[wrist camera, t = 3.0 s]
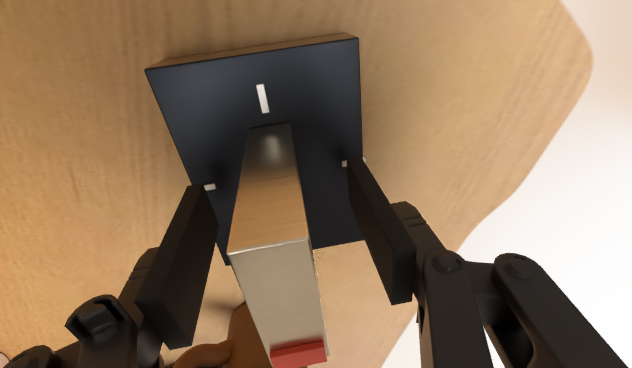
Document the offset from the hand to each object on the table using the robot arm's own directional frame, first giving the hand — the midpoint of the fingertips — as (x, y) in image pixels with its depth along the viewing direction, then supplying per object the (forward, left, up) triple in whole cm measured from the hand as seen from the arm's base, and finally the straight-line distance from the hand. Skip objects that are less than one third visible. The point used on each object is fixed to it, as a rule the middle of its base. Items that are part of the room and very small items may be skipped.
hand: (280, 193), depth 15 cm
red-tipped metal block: (0, 0, -2) cm, 2 cm away
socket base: (0, 0, -5) cm, 5 cm away
